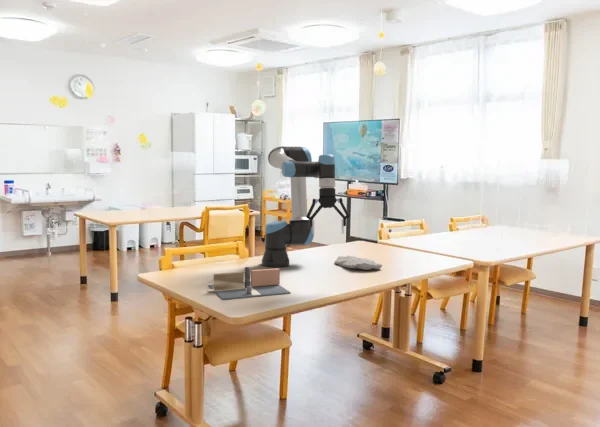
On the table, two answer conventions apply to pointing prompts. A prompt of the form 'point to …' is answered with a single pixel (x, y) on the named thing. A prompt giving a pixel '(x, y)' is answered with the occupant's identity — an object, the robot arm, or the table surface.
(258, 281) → the hinged panel
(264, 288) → the card
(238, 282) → the base
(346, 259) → the stone
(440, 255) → the table surface
